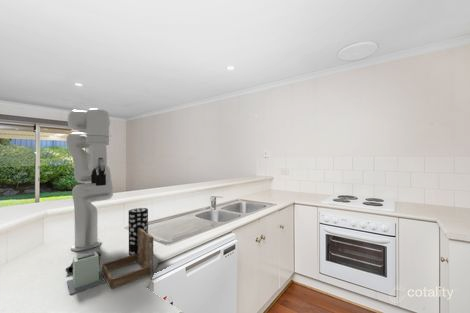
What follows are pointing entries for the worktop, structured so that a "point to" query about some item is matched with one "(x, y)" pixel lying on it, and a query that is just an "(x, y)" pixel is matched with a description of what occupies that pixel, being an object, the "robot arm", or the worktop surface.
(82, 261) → the module
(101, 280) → the mat
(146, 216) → the white-spotted black cylinder
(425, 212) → the worktop surface
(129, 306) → the worktop surface
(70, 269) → the dark blue pouch
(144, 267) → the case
